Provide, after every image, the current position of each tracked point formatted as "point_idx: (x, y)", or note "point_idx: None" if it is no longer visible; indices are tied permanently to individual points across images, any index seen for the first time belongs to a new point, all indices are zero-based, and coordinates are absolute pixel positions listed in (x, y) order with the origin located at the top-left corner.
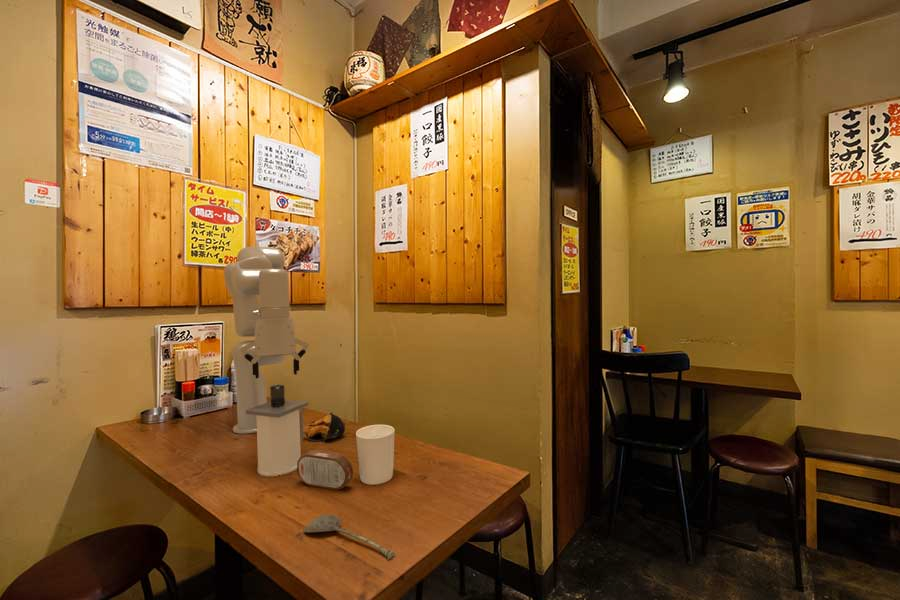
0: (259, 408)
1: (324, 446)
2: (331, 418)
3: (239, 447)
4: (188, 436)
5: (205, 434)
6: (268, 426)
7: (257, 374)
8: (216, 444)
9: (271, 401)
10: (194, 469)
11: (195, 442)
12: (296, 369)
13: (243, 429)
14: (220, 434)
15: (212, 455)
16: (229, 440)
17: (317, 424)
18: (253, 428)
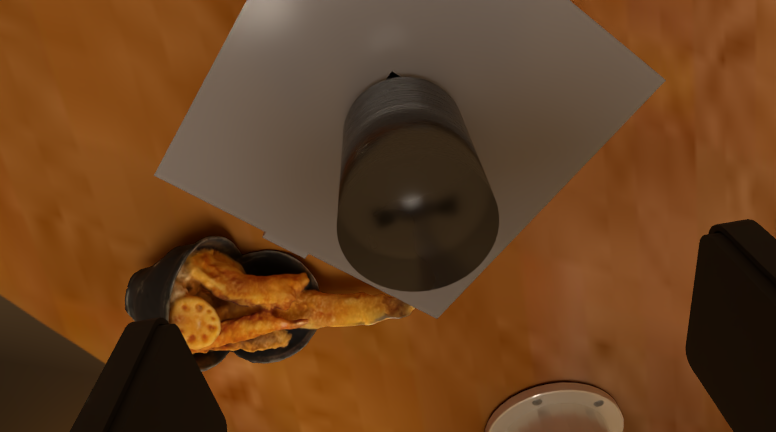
0: (553, 97)
1: None
2: (166, 306)
3: (584, 268)
4: None
5: (711, 407)
6: None
7: (753, 258)
8: (671, 316)
9: (458, 112)
10: (747, 97)
11: None
12: (101, 378)
13: (585, 403)
14: (660, 397)
15: (681, 219)
16: (626, 340)
17: (258, 314)
18: (549, 404)
